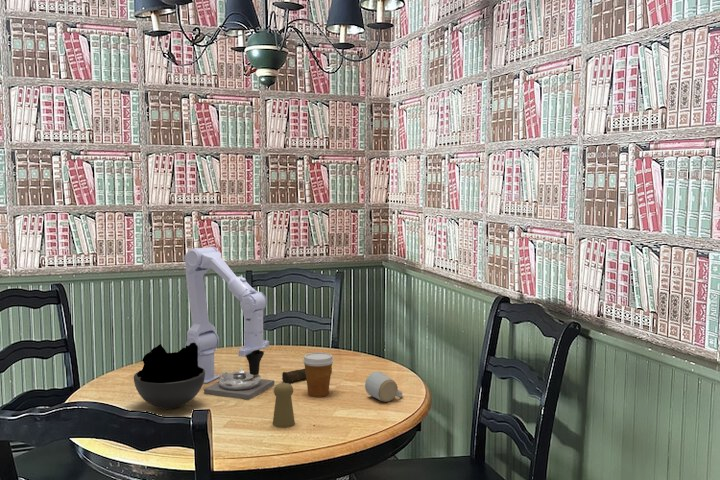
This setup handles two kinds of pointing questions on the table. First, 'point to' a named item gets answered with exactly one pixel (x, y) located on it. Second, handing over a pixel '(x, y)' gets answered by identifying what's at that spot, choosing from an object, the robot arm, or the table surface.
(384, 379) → the ceramic mug
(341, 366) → the table surface
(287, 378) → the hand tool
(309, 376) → the disposable coffee cup
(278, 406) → the olive pawn figure
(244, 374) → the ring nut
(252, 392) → the base plate
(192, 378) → the coal bowl
